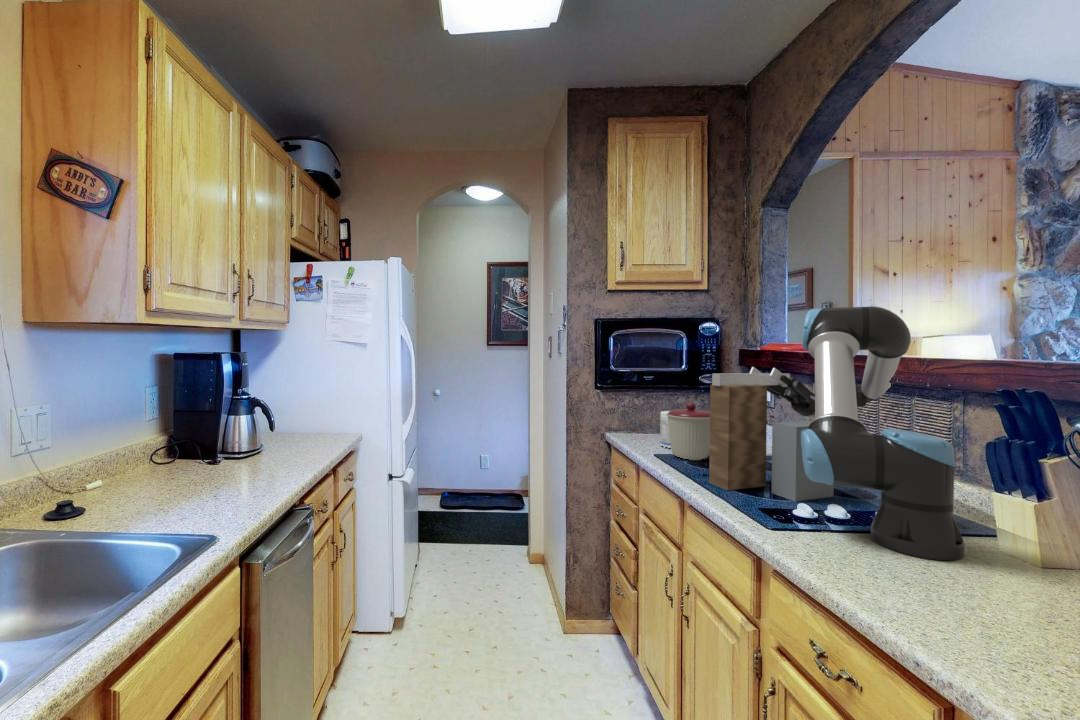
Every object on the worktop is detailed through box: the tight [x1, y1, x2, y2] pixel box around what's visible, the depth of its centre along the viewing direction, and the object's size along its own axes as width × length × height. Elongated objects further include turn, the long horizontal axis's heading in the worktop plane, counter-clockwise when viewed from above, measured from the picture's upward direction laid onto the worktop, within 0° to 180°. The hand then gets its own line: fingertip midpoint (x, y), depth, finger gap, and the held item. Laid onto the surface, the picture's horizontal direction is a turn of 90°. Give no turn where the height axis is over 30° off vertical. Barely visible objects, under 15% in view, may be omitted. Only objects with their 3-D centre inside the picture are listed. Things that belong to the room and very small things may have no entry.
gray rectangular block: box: [770, 420, 835, 502], centre depth 131 cm, size 14×8×20 cm, turn 110°
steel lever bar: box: [711, 372, 791, 386], centre depth 142 cm, size 25×4×4 cm, turn 105°
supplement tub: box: [659, 410, 671, 446], centre depth 197 cm, size 10×10×15 cm
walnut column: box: [708, 384, 768, 491], centre depth 141 cm, size 14×8×30 cm, turn 110°
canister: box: [666, 401, 710, 461], centre depth 177 cm, size 18×18×21 cm
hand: (761, 371), depth 143 cm, fingers open, 8 cm apart
